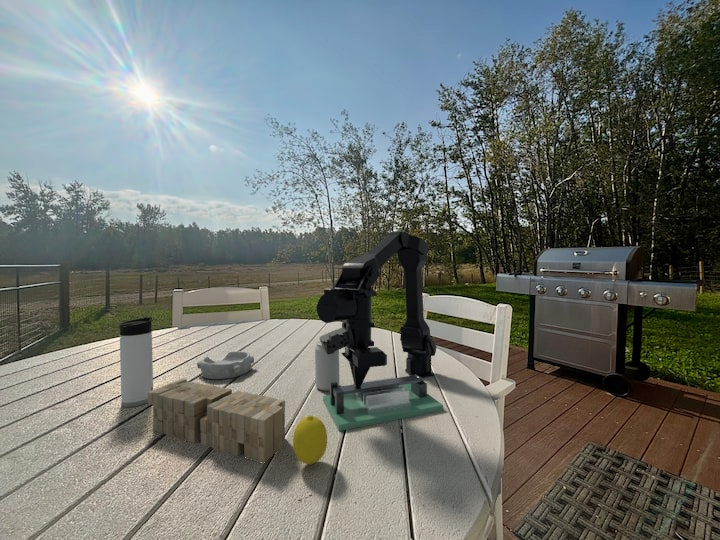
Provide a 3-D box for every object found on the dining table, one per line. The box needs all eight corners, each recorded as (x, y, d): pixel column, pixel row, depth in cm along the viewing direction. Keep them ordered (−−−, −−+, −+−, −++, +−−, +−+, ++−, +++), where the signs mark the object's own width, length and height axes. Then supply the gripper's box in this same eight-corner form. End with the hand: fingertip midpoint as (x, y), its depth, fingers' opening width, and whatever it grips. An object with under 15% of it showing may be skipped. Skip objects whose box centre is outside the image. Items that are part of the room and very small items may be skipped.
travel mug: (160, 397, 76) (159, 317, 76) (133, 409, 70) (131, 322, 70) (142, 394, 78) (141, 316, 78) (114, 405, 72) (112, 320, 72)
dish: (190, 377, 90) (190, 361, 90) (227, 363, 103) (227, 348, 103) (228, 384, 84) (228, 366, 84) (262, 368, 97) (261, 353, 97)
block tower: (291, 445, 57) (183, 412, 69) (292, 401, 57) (183, 375, 68) (262, 472, 50) (147, 429, 61) (263, 421, 50) (147, 388, 61)
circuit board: (411, 386, 81) (411, 382, 81) (443, 410, 68) (443, 404, 68) (323, 401, 73) (323, 396, 73) (338, 431, 60) (338, 425, 60)
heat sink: (412, 385, 79) (412, 368, 79) (434, 401, 69) (433, 381, 69) (327, 399, 71) (327, 379, 71) (339, 419, 62) (339, 397, 62)
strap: (417, 379, 75) (417, 373, 75) (423, 383, 72) (423, 378, 72) (332, 392, 68) (332, 386, 68) (336, 398, 65) (336, 392, 65)
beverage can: (335, 392, 78) (335, 346, 78) (311, 391, 79) (311, 344, 79) (342, 383, 84) (341, 339, 84) (320, 381, 85) (319, 339, 85)
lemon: (298, 480, 46) (298, 428, 46) (289, 459, 51) (288, 412, 51) (332, 468, 49) (332, 419, 49) (320, 450, 54) (320, 405, 54)
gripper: (314, 312, 74) (314, 376, 75) (334, 326, 57) (333, 410, 57) (358, 311, 78) (357, 372, 78) (388, 323, 61) (387, 402, 61)
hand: (357, 386), depth 68 cm, fingers closed, pressing on strap
